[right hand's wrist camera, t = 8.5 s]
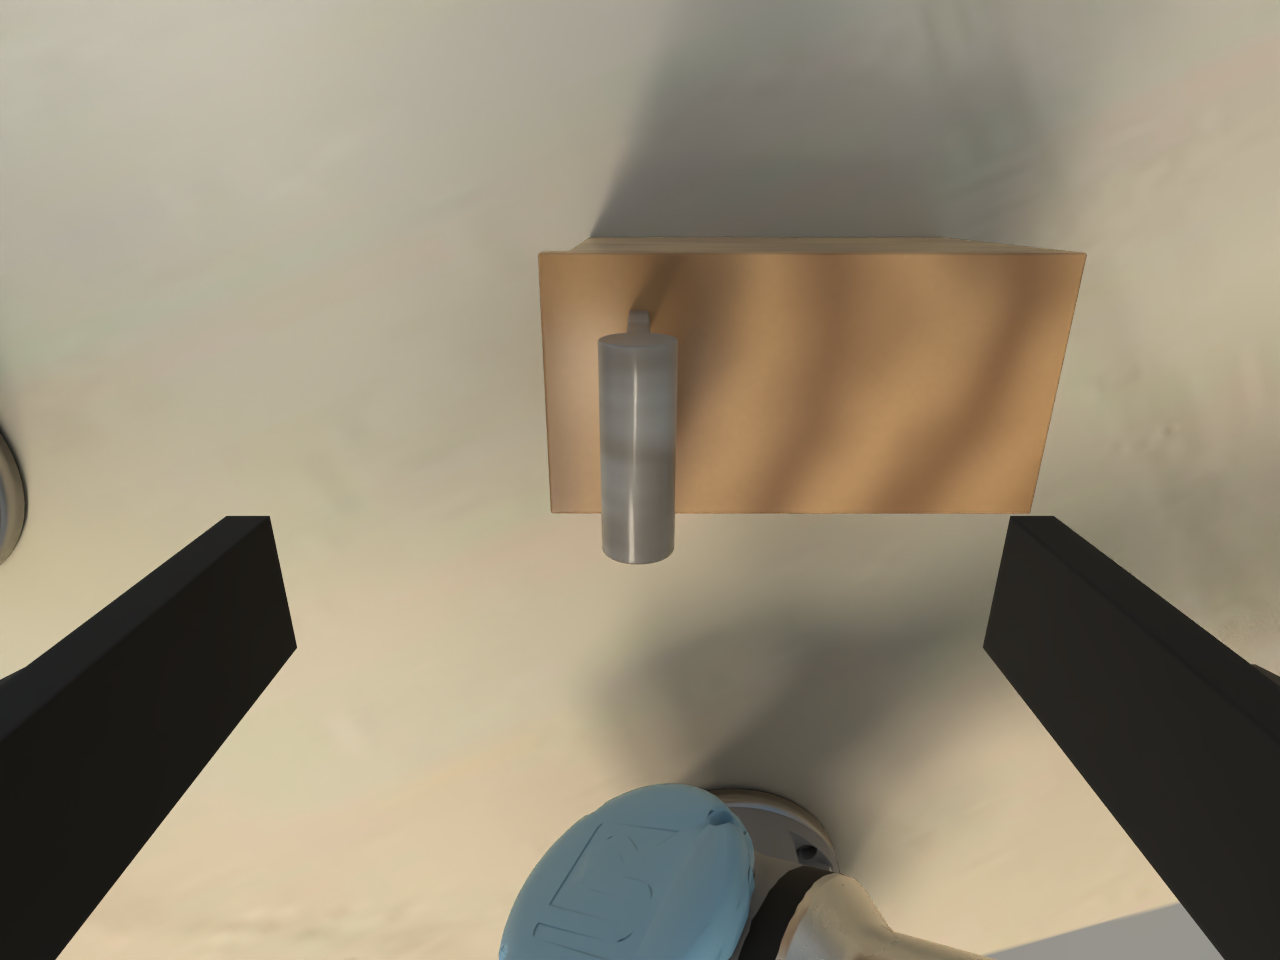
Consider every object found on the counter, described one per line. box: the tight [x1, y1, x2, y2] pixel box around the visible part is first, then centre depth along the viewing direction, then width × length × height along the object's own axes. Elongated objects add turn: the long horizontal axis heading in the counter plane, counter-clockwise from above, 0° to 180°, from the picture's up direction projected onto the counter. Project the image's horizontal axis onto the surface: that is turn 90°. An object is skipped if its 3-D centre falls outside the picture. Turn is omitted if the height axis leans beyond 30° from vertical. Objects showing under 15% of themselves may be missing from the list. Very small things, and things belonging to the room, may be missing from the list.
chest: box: [570, 237, 1063, 251], centre depth 32 cm, size 18×10×11 cm, turn 90°
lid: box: [538, 251, 1086, 564], centre depth 22 cm, size 18×10×8 cm, turn 90°
